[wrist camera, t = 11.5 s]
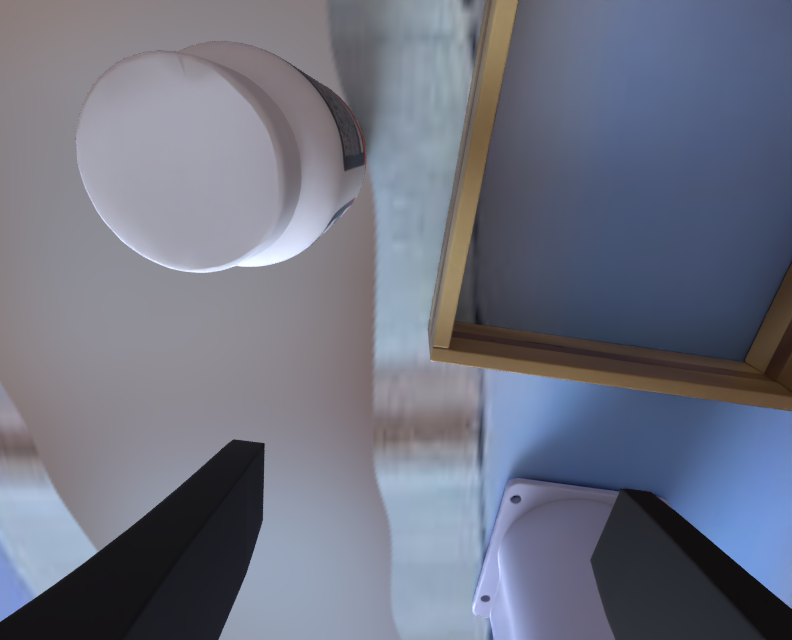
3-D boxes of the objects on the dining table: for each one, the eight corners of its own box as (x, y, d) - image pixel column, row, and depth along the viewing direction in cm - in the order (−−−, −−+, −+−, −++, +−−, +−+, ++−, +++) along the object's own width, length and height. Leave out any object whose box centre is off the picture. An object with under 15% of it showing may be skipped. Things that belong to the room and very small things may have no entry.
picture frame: (751, 375, 19) (809, 414, 16) (426, 330, 19) (429, 362, 16) (946, -20, 14) (1083, -63, 11) (500, -89, 14) (523, -151, 11)
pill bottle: (241, 57, 15) (38, -53, 7) (384, 106, 16) (352, 57, 7) (218, 205, 17) (35, 257, 9) (346, 246, 18) (286, 332, 9)
